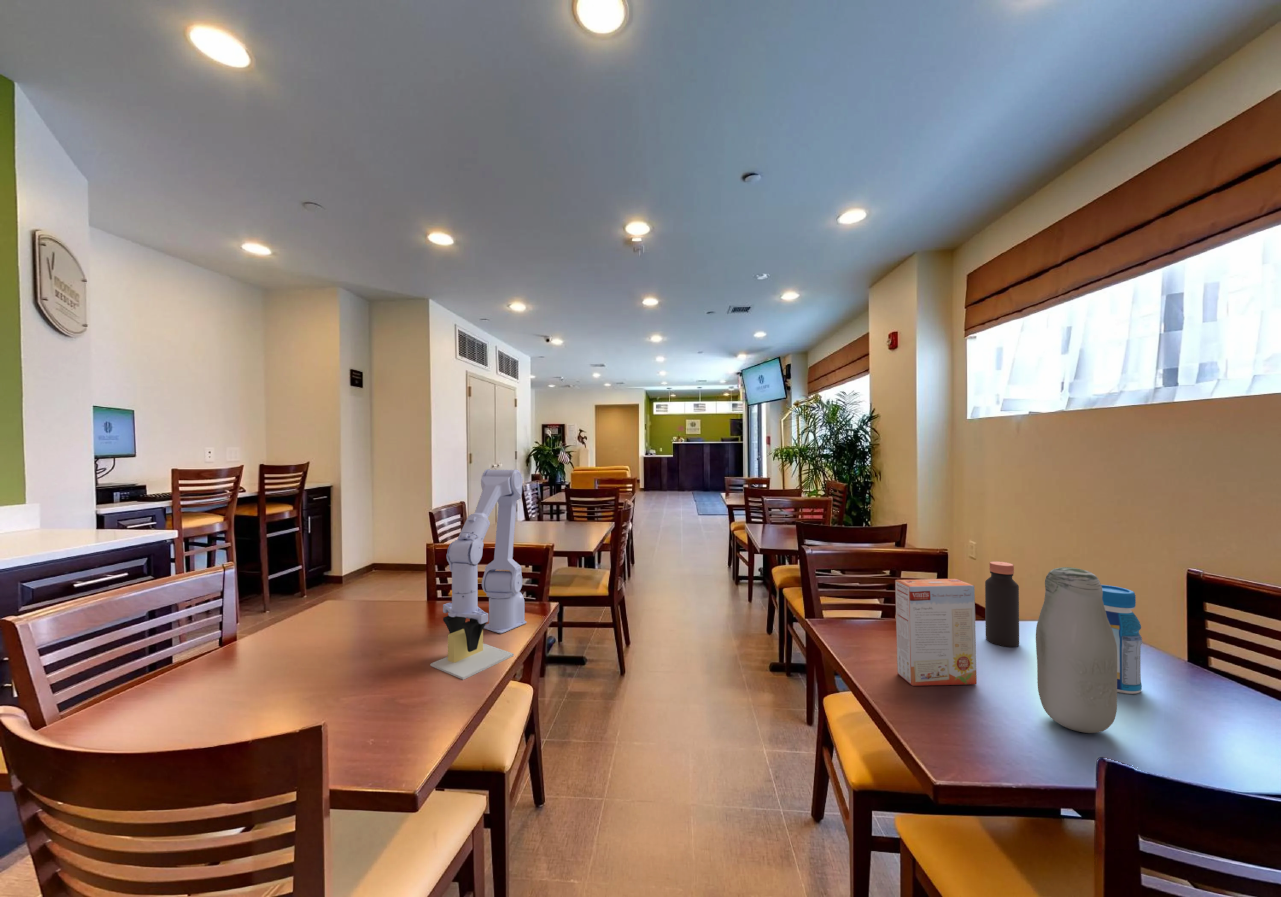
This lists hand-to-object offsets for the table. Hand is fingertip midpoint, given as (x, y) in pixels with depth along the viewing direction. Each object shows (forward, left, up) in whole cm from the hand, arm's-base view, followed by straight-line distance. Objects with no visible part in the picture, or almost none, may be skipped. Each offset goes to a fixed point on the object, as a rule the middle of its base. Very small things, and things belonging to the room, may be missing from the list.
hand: (465, 647), depth 111 cm
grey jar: (-41, +115, -3) cm, 122 cm away
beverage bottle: (-65, +125, -3) cm, 141 cm away
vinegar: (-80, +108, -3) cm, 134 cm away
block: (0, 0, -2) cm, 2 cm away
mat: (0, +3, -2) cm, 4 cm away
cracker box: (-48, +94, -3) cm, 106 cm away
